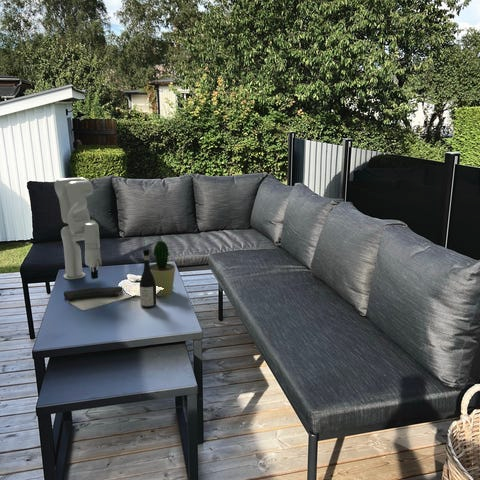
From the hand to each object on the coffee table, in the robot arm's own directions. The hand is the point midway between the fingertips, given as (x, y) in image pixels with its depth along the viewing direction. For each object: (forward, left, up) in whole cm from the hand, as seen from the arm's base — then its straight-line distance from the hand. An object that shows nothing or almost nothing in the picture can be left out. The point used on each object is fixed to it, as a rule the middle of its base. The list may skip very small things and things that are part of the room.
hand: (94, 278), depth 261 cm
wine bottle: (+34, +11, -10) cm, 37 cm away
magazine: (-1, 0, -7) cm, 7 cm away
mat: (+8, 0, -9) cm, 13 cm away
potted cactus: (+22, +28, -10) cm, 37 cm away
